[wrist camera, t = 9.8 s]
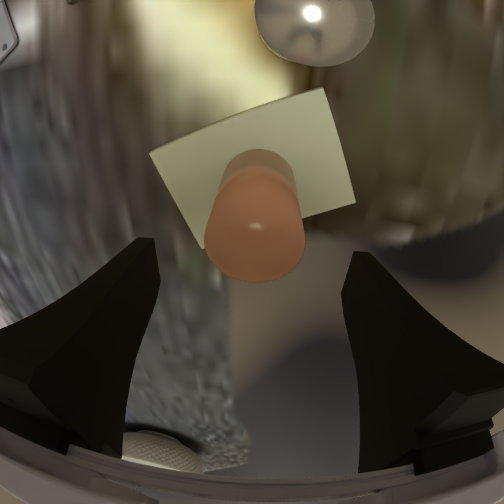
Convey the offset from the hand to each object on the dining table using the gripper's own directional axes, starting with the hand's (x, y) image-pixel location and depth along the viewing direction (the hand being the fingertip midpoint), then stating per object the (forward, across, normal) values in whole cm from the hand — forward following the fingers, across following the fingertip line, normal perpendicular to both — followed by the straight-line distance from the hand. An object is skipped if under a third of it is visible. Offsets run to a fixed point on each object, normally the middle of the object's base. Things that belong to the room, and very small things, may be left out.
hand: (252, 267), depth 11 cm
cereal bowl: (+8, +14, +46) cm, 49 cm away
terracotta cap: (+7, 0, 0) cm, 7 cm away
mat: (+8, 0, 0) cm, 8 cm away
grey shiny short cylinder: (+8, -2, -9) cm, 12 cm away
